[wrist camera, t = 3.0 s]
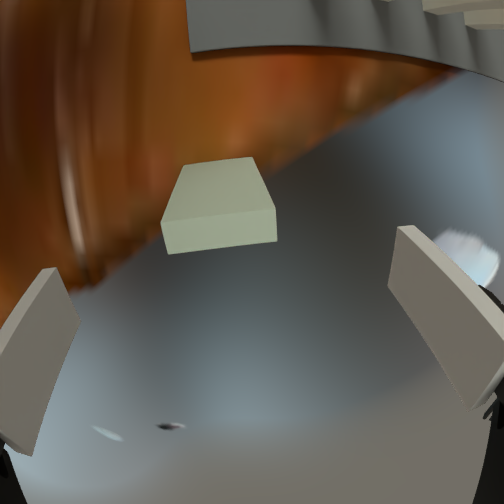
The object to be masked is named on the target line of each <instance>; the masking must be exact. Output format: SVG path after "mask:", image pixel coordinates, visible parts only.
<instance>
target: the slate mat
mask: <svg viewBox="0 0 504 504" xmlns="http://www.w3.org/2000/svg"><path fill="white" fill-rule="evenodd" d="M186 8H187V20H188V31H189V42H190V52H191V53H195V52H203V51H211V50H220V49H230V48H242V47H259V46H323V47H340V48H352V49H362V50H371V51H378V52H386V53H392V54H398V55H404V56H410V57H415V58H420V59H425V60H429V61H434V62H438V63H442V64H446V65H450V66H454V67H457V68H461V69H465V70H468V71H471V72H475V73H478V74H481V75H484V76H487V77H490V78H493V79H496V80H499V81H501V82H504V29H477V30H476V29H474V28H472V27H469V26H467V25H465V20H464V13H463V12H456V13H449V14H442V15H436V14H433V13H429V12H426V11H423V5H422V0H392V1H389V2H387V1H383V0H186Z"/></svg>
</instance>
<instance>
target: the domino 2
mask: <svg viewBox="0 0 504 504" xmlns="http://www.w3.org/2000/svg"><path fill="white" fill-rule="evenodd" d="M422 5H423V11H426V12H429V13H433V14H436V15H442V14H449V13H456V12H465V11H474V10H487V9H504V0H422Z"/></svg>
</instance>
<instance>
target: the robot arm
mask: <svg viewBox="0 0 504 504" xmlns="http://www.w3.org/2000/svg"><path fill="white" fill-rule="evenodd" d="M388 287H389V289H390V290H391V292H392V293H393V294H394V296H395V297H396V299H397V300H398V301H399V303H400V304H401V306H402V307H403V309H404V310H405V311H406V313H407V314H408V316H409V317H410V319H411V320H412V322H413V323H414V325H415V326H416V327H417V329H418V331H419V332H420V334H421V335H422V337H423V338H424V340H425V341H426V343H427V344H428V346H429V348H430V349H431V350H432V352H433V354H434V355H435V357H436V359H437V360H438V362H439V363H440V365H441V367H442V368H443V370H444V371H445V373H446V375H447V376H448V378H449V379H450V381H451V383H452V385H453V387H454V388H455V390H456V391H457V393H458V395H459V397H460V399H461V400H462V402H463V404H464V405H465V407H466V409H467V411H468V412H469V411H471V410H473V409H475V408H477V407H479V406H481V405H483V404H485V403H486V401H487V400H488V399H489V397H490V396H491V395H492V393H493V392H495V393H496V395H497V399H496V400H495V401H494V402H493V404H492V405H491V406H490V407H489V409H488V410H487V411H486V412H485V414H484V416H483V419H486V418H487V417H488V415H489V414H490V413H491V412H492V411H493V413H492V416H491V418H490V419H489V420H490V421H491V427H490V433H489V439H488V444H487V450H486V455H485V459H484V464H483V468H482V472H481V476H480V480H479V483H478V487H477V490H476V494H475V497H474V500H473V504H504V305H503V304H501V302H500V301H499V300H498V299H497V298H496V296H494V294H493V293H492V292H490V291H489V290H487V289H485V288H484V287H482V286H481V285H477V284H476V283H475V282H474V281H473V280H472V279H471V278H470V277H469V276H468V275H467V274H466V273H465V272H464V271H463V270H462V269H461V268H460V267H459V266H458V265H457V264H456V263H455V262H454V261H453V260H452V259H451V258H449V257H448V256H447V255H446V254H445V253H444V252H443V251H442V250H441V249H440V248H439V247H438V246H437V245H435V244H434V243H433V242H432V241H431V240H430V239H429V238H428V237H426V236H425V235H424V234H423V233H422V232H421V231H420V230H418V229H417V228H416V227H415V226H414V225H411V226H401V227H397V234H396V240H395V247H394V253H393V259H392V265H391V271H390V276H389V282H388ZM80 322H81V320H80V318H79V316H78V314H77V312H76V310H75V308H74V306H73V303H72V301H71V299H70V297H69V295H68V293H67V290H66V288H65V286H64V284H63V281H62V279H61V277H60V274H59V272H58V270H57V267H54V268H47V269H42V270H41V272H40V273H39V274H38V276H37V277H36V278H35V280H34V281H33V282H32V284H31V285H30V286H29V288H28V289H27V291H26V292H25V293H24V295H23V296H22V298H21V299H20V300H19V302H18V303H17V305H16V306H15V308H14V309H13V311H12V312H11V314H10V315H9V317H8V318H7V320H6V321H5V323H4V325H3V326H2V328H1V329H0V504H27V502H26V499H25V497H24V495H23V492H22V490H21V487H20V485H19V482H18V479H17V477H16V474H15V471H14V469H13V466H12V462H11V460H10V457H9V454H8V452H7V451H6V450H5V449H4V445H5V443H6V444H7V445H8V446H10V447H11V448H12V449H13V450H14V451H16V452H18V453H21V454H25V455H28V456H32V455H33V451H34V447H35V444H36V440H37V437H38V433H39V430H40V427H41V424H42V420H43V417H44V414H45V411H46V408H47V405H48V402H49V400H50V397H51V394H52V391H53V388H54V386H55V383H56V380H57V377H58V375H59V372H60V370H61V367H62V365H63V362H64V360H65V357H66V355H67V352H68V350H69V348H70V345H71V343H72V341H73V338H74V336H75V334H76V331H77V329H78V327H79V325H80Z"/></svg>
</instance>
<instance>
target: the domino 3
mask: <svg viewBox="0 0 504 504" xmlns="http://www.w3.org/2000/svg"><path fill="white" fill-rule="evenodd" d="M463 13H464V20H465V25H467V26H469V27H472V28H474V29H476V30H477V29H504V9H487V10H474V11H465V12H463Z"/></svg>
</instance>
